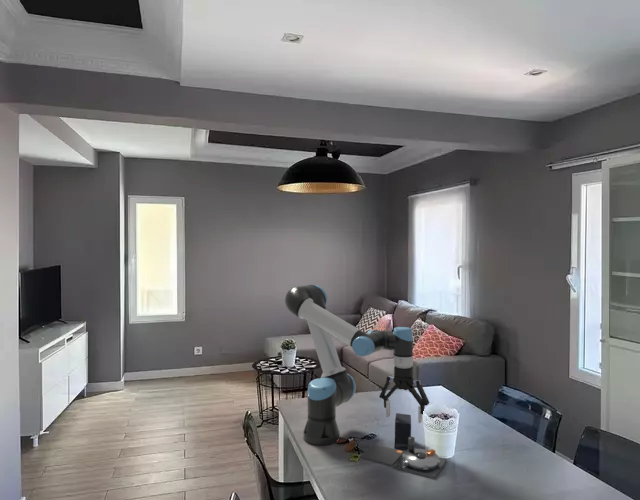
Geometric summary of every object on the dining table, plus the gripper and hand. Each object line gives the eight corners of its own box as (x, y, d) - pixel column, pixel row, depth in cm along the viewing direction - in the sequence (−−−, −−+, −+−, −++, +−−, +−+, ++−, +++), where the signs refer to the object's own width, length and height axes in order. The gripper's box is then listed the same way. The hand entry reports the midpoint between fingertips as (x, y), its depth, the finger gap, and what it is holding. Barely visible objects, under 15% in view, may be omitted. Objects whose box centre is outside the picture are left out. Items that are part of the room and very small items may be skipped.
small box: (410, 450, 180) (411, 423, 180) (394, 448, 181) (394, 422, 181) (411, 439, 190) (411, 414, 190) (395, 437, 192) (395, 412, 192)
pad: (359, 457, 173) (359, 456, 173) (373, 445, 184) (373, 443, 184) (392, 466, 166) (392, 464, 166) (404, 452, 178) (404, 450, 178)
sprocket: (419, 473, 158) (419, 454, 158) (393, 458, 170) (393, 440, 170) (448, 463, 166) (448, 445, 166) (422, 450, 177) (422, 432, 177)
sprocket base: (393, 468, 165) (393, 465, 165) (408, 452, 178) (408, 449, 178) (435, 479, 157) (435, 476, 157) (446, 461, 170) (446, 459, 170)
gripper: (371, 364, 189) (371, 416, 189) (431, 372, 176) (431, 427, 176) (378, 360, 195) (379, 410, 195) (436, 367, 183) (437, 421, 183)
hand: (404, 419), depth 186 cm, fingers open, 13 cm apart
